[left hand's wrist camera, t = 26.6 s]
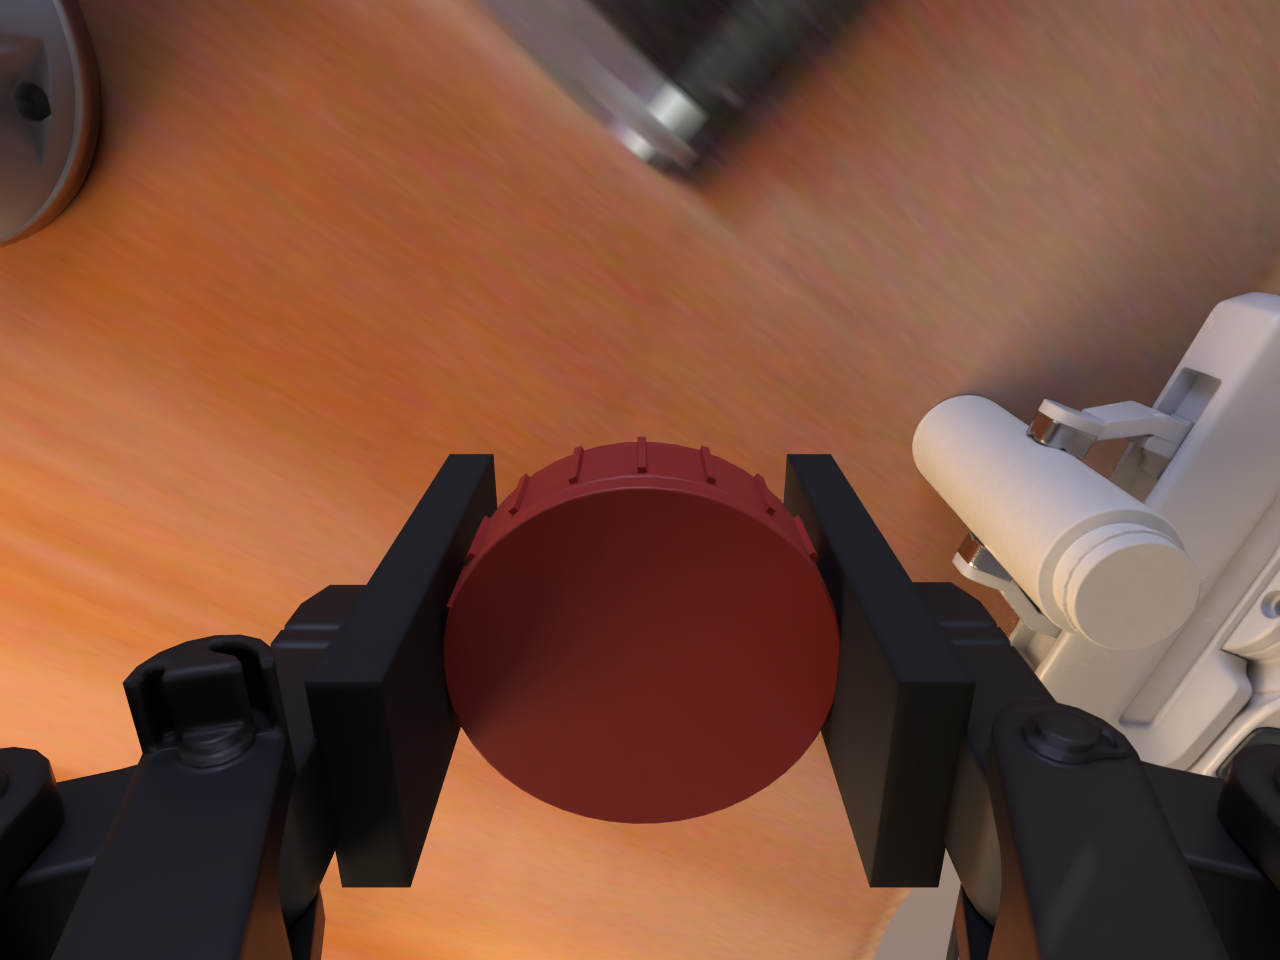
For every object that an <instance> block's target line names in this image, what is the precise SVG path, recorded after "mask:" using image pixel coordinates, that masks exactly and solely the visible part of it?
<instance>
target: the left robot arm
mask: <svg viewBox="0 0 1280 960" xmlns="http://www.w3.org/2000/svg"><path fill="white" fill-rule="evenodd" d="M99 121H100V89H99V78H98V71H97V65H96V60H95V54H94V50H93V47H92V43H91V39H90V35H89V32H88V29H87V26H86V24H85V21H84V18H83V15H82V12H81V10H80V8H79V6H78V3H77V1H76V0H0V247H3V246H6V245H10V244H13V243H16V242H18V241H20V240H23V239H25V238H27V237H29V236H31V235H33V234H34V233H36V232H38V231H40V230H41V229H43V228H44V227H45V226H46V225H48V224H49V223H50V222H52V221H53V220H54V219H55V218H56V217H57V216H58V215H59V214H60V213H61V212H62V211H63V210H64V209H65V208H66V207H67V205H68V204H69V203H70V202H71V200H72V199H73V198H74V196H75V195H76V193H77V191H78V190H79V188H80V186H81V185H82V183H83V181H84V179H85V176H86V174H87V172H88V170H89V167H90V164H91V161H92V158H93V155H94V152H95V147H96V142H97V137H98V131H99ZM783 505H784V506H785V507H786V509H787V510H788V511H789V513H790V514H791V515H792V516H793V518H794V517H796V516H797V515H799V517H800V518H801V520H802V522H803V524H804V526H805V529H806V531H807V533H808V535H809V538H810V540H811V542H812V544H813V547H814V549H815V551H816V553H817V556H818V558H817V559H815V560H814V561H815V563H816V566H817V567H818V570H819V572H820V574H821V577H822V579H823V581H824V583H825V586H826V588H827V590H828V593H829V595H830V597H831V600H832V602H833V604H834V609H835V612H836V616H837V620H838V625H839V629H840V651H839V661H838V670H837V679H836V688H835V696H834V702H833V705H832V707H831V710H830V712H829V715H828V717H827V719H826V721H825V723H824V725H823V727H822V728H821V733H822V736H823V739H824V742H825V745H826V749H827V752H828V755H829V758H830V761H831V765H832V768H833V771H834V774H835V777H836V780H837V784H838V787H839V790H840V793H841V796H842V800H843V803H844V806H845V809H846V812H847V816H848V819H849V822H850V825H851V828H852V831H853V835H854V838H855V841H856V844H857V847H858V851H859V854H860V857H861V860H862V863H863V866H864V870H865V873H866V876H867V879H868V882H869V886H870V887H938V886H939V881H940V875H941V870H942V865H943V859H944V854H945V848H946V849H947V851H948V854H949V856H950V858H951V860H952V863H953V865H954V867H955V869H956V872H957V874H958V876H959V879H960V881H961V886H960V891H959V896H958V901H957V906H956V911H955V916H954V921H953V926H952V931H951V936H950V941H949V946H948V951H947V957H946V960H958V958H959V960H1280V745H1276V744H1261V745H1253V746H1246V747H1244V748H1243V749H1242V750H1241V751H1239V752H1238V753H1237V754H1235V755H1234V756H1233V758H1232V761H1231V764H1230V767H1229V770H1228V773H1227V776H1226V779H1221V778H1216V777H1211V776H1206V775H1202V774H1197V773H1192V772H1187V771H1183V770H1178V769H1173V768H1168V767H1164V766H1159V765H1156V764H1152V763H1148V762H1145V761H1141V759H1140V757H1139V755H1138V753H1137V751H1136V750H1135V749H1134V747H1133V746H1132V744H1131V743H1130V742H1129V740H1128V739H1127V738H1126V736H1125V735H1124V734H1122V733H1121V732H1120V731H1118V730H1117V729H1116V728H1114V727H1113V726H1112V725H1110V724H1109V723H1108V722H1106V721H1105V720H1103V719H1101V718H1099V717H1097V716H1095V715H1093V714H1091V713H1088V712H1086V711H1084V710H1082V709H1080V708H1077V707H1073V706H1069V705H1065V704H1061V703H1057V702H1056V700H1055V699H1054V698H1053V696H1052V695H1051V694H1050V692H1049V691H1048V690H1047V689H1046V687H1045V686H1044V685H1043V683H1042V682H1041V681H1040V679H1039V678H1038V677H1037V675H1036V674H1035V673H1034V672H1033V670H1032V669H1031V668H1030V666H1029V665H1028V664H1027V662H1026V661H1025V660H1024V658H1023V657H1022V656H1021V654H1020V653H1019V652H1018V651H1017V649H1016V648H1015V647H1014V646H1011V645H1010V640H1009V639H1008V637H1007V636H1006V635H1005V634H1004V632H1003V631H1002V630H1001V628H1000V627H997V626H996V622H995V620H994V619H993V618H992V616H991V615H990V614H989V613H988V611H987V610H986V609H985V607H984V606H983V605H982V603H981V602H980V601H979V600H977V599H976V598H974V597H973V596H971V595H970V594H968V593H966V592H965V591H963V590H962V589H960V588H959V587H957V586H956V585H954V584H953V583H951V582H912V581H911V579H910V578H909V576H908V575H907V573H906V571H905V570H904V568H903V567H902V565H901V564H900V562H899V561H898V559H897V557H896V556H895V554H894V553H893V551H892V550H891V548H890V546H889V545H888V543H887V542H886V540H885V539H884V537H883V535H882V534H881V532H880V531H879V529H878V528H877V526H876V525H875V523H874V521H873V520H872V518H871V517H870V515H869V514H868V512H867V510H866V509H865V507H864V506H863V504H862V503H861V501H860V499H859V498H858V496H857V495H856V493H855V492H854V490H853V488H852V487H851V485H850V484H849V482H848V481H847V479H846V478H845V476H844V474H843V473H842V471H841V470H840V468H839V467H838V465H837V463H836V462H835V460H834V459H833V457H832V456H831V454H787V463H786V477H785V490H784V504H783ZM496 510H497V498H496V484H495V470H494V456H493V454H450V455H449V456H448V458H447V460H446V461H445V463H444V464H443V466H442V467H441V469H440V470H439V472H438V474H437V475H436V477H435V478H434V480H433V481H432V483H431V485H430V486H429V488H428V489H427V491H426V492H425V494H424V496H423V497H422V499H421V500H420V502H419V503H418V505H417V507H416V508H415V510H414V511H413V513H412V514H411V516H410V517H409V519H408V521H407V522H406V524H405V525H404V527H403V528H402V530H401V532H400V533H399V535H398V536H397V538H396V539H395V541H394V543H393V544H392V546H391V547H390V549H389V550H388V552H387V554H386V555H385V557H384V558H383V560H382V561H381V563H380V564H379V566H378V568H377V569H376V571H375V572H374V574H373V575H372V577H371V579H370V580H369V582H368V583H367V585H329V586H328V587H326V588H325V589H323V590H322V591H320V592H319V593H317V594H315V595H314V596H312V597H311V598H309V599H308V600H306V601H305V602H303V603H302V604H301V605H300V606H299V607H298V609H297V610H296V611H295V613H294V614H293V615H292V617H291V618H290V619H289V621H288V622H287V623H286V625H285V629H284V630H281V631H280V632H279V634H278V635H277V636H276V638H275V639H274V640H273V642H272V643H271V647H270V646H269V645H267V644H266V643H265V642H263V641H262V640H261V639H258V638H253V637H249V636H244V635H215V636H210V637H205V638H201V639H196V640H192V641H187V642H184V643H182V644H179V645H177V646H174V647H172V648H169V649H167V650H164V651H162V652H159V653H158V654H156V655H154V656H153V657H151V658H150V659H148V660H147V661H145V662H143V663H142V664H140V665H139V666H137V667H136V668H135V669H134V671H133V672H132V673H131V674H130V675H129V676H128V677H127V678H126V680H125V681H124V682H123V686H124V689H125V693H126V696H127V700H128V703H129V707H130V710H131V714H132V717H133V721H134V724H135V728H136V731H137V735H138V738H139V742H140V745H141V749H142V752H143V754H142V756H141V759H140V761H139V763H138V765H134V766H131V767H127V768H123V769H119V770H115V771H110V772H105V773H100V774H96V775H91V776H86V777H81V778H77V779H72V780H67V781H62V782H58V783H56V780H55V777H54V774H53V771H52V768H51V765H50V762H49V760H48V759H47V758H46V757H44V756H43V755H42V754H41V753H39V752H38V751H37V750H32V749H25V748H18V747H10V748H2V749H0V960H321V954H322V945H323V936H324V927H325V914H324V907H323V901H322V896H321V891H320V884H321V882H322V880H323V877H324V875H325V873H326V870H327V868H328V866H329V864H330V861H331V859H332V857H333V854H334V852H335V851H336V856H337V862H338V867H339V873H340V878H341V883H342V887H411V884H412V881H413V878H414V874H415V871H416V868H417V865H418V862H419V858H420V855H421V852H422V849H423V846H424V843H425V839H426V836H427V833H428V830H429V827H430V823H431V820H432V817H433V814H434V811H435V808H436V804H437V801H438V798H439V795H440V792H441V788H442V785H443V782H444V779H445V776H446V772H447V769H448V766H449V763H450V760H451V757H452V753H453V750H454V747H455V744H456V741H457V737H458V734H459V731H460V728H461V725H460V723H459V721H458V718H457V716H456V714H455V712H454V710H453V707H452V705H451V701H450V698H449V695H448V691H447V688H446V684H445V677H444V668H443V637H444V632H445V626H446V621H447V616H448V613H447V610H446V606H447V604H448V601H449V599H450V597H451V594H452V592H453V590H454V588H455V585H456V583H457V581H458V578H459V576H460V574H461V571H462V569H463V567H464V566H467V565H468V563H469V561H470V560H468V559H466V556H467V554H468V552H469V549H470V547H471V545H472V542H473V540H474V538H475V535H476V533H477V531H478V528H479V526H480V524H481V522H482V520H483V518H484V517H485V516H487V517H489V518H491V517H492V515H493V514H494V513H495V511H496Z"/></svg>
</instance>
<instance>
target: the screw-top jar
mask: <svg viewBox="0 0 1280 960" xmlns="http://www.w3.org/2000/svg"><path fill="white" fill-rule="evenodd" d="M1028 427H1029V426H1028V425H1027V424H1025V423H1024V422H1022V421H1021V420H1019V419H1018V418H1016V417H1015V416H1013V415H1012V414H1011V413H1009V412H1008V411H1006V410H1005V409H1003V408H1002V407H1000V406H999V405H997V404H996V403H994V402H993V401H991V400H989V399H986V398H984V397H980V396H973V395H964V396H958V397H954V398H950V399H948V400H946V401H943V402H941V403H940V404H938V405H937V406H935V407H934V408H932V409H931V410H930V411H929V412H928V413H927V414H926V415H925V416H924V418H923V419H922V420H921V422H920V423H919V425H918V427H917V429H916V432H915V435H914V439H913V446H912V450H913V457H914V461H915V464H916V466H917V468H918V470H919V471H920V472H921V474H922V475H923V476H924V477H925V478H926V479H927V481H928V482H929V483H930V484H931V485H932V486H933V487H934V489H935V490H936V491H937V492H938V493H939V494H940V495H941V497H942V498H943V499H944V500H945V501H946V502H947V503H948V505H949V506H950V507H951V508H952V509H953V510H954V511H955V513H956V514H957V515H958V516H959V517H960V518H961V519H962V521H963V522H964V523H965V524H966V525H967V526H968V527H969V528H970V530H971V531H972V532H973V533H974V534H975V535H976V536H977V538H978V539H979V540H980V541H981V542H982V543H983V544H984V546H985V547H986V548H987V549H988V550H989V551H990V552H991V554H992V555H993V556H994V557H995V558H996V559H997V560H998V562H999V563H1000V564H1001V565H1002V566H1003V567H1004V568H1005V570H1006V571H1007V572H1008V573H1009V574H1010V575H1011V576H1012V578H1013V579H1014V580H1015V581H1016V582H1017V583H1018V584H1019V586H1020V587H1021V588H1022V589H1023V590H1024V591H1025V592H1026V594H1027V595H1028V596H1029V597H1030V598H1031V599H1032V600H1033V602H1034V603H1035V604H1036V605H1037V606H1038V607H1039V608H1040V610H1041V611H1042V612H1043V613H1044V614H1045V615H1046V616H1047V618H1048V619H1049V620H1050V621H1052V622H1053V623H1054V624H1055V625H1056V626H1058V627H1059V628H1061V629H1063V630H1065V631H1067V632H1069V633H1072V634H1075V635H1078V636H1081V637H1083V638H1084V639H1085V640H1086V641H1088V642H1091V643H1094V644H1096V645H1099V646H1101V647H1106V648H1109V649H1114V650H1134V649H1140V648H1144V647H1148V646H1151V645H1153V644H1156V643H1158V642H1160V641H1162V640H1164V639H1166V638H1167V637H1169V636H1170V635H1172V634H1173V633H1174V632H1176V631H1177V630H1178V629H1179V628H1180V627H1181V626H1182V625H1183V624H1184V623H1185V622H1186V621H1187V619H1188V618H1189V617H1190V615H1191V614H1192V612H1194V611H1195V608H1196V606H1197V603H1198V600H1199V598H1201V594H1202V583H1203V582H1202V581H1201V580H1200V578H1199V574H1198V570H1197V568H1196V566H1195V564H1194V562H1193V561H1192V560H1191V558H1190V557H1189V556H1188V555H1187V554H1186V550H1185V546H1184V543H1183V540H1182V538H1181V536H1180V534H1179V533H1178V531H1177V530H1176V529H1175V527H1174V526H1173V525H1172V524H1171V523H1170V522H1168V521H1167V520H1166V519H1164V518H1163V517H1162V516H1160V515H1159V514H1157V513H1156V512H1154V511H1153V510H1151V509H1150V508H1148V507H1147V506H1146V505H1144V504H1143V503H1141V502H1140V501H1138V500H1137V499H1135V498H1134V497H1132V496H1131V495H1129V494H1128V493H1126V492H1125V491H1124V490H1122V489H1121V488H1119V487H1118V486H1116V485H1115V484H1113V483H1112V482H1110V481H1109V480H1107V479H1106V478H1104V477H1103V476H1101V475H1100V474H1099V473H1097V472H1096V471H1094V470H1093V469H1091V468H1090V467H1088V466H1087V465H1085V464H1084V463H1082V462H1081V461H1079V460H1078V459H1077V458H1075V457H1074V456H1072V455H1070V454H1069V453H1067V452H1065V451H1064V450H1062V449H1055V448H1052V447H1049V446H1047V445H1045V444H1043V443H1041V442H1039V441H1037V440H1036V439H1034V437H1033V436H1031V435H1029V434H1027V433H1026V431H1027V429H1028Z"/></svg>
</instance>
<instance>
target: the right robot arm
mask: <svg viewBox="0 0 1280 960" xmlns="http://www.w3.org/2000/svg"><path fill="white" fill-rule="evenodd" d="M1026 433H1027V434H1029V435H1031V436H1033V437H1034V439H1036V440H1037V441H1039V442H1041V443H1043V444H1045V445H1047V446H1049V447H1052V448H1055V449H1062V450H1064V451H1065V452H1067V453H1069V454H1070V455H1073V456H1075V457H1078V458H1081V459H1084V457H1085V456H1086V454H1087V452H1088V451H1089V449H1090V448H1091V446H1092V445H1093V443H1094V442H1095V441H1102V440H1110V439H1118V438H1126V439H1127V440H1129V441H1131V442H1130V443H1129V445H1128V447H1127V448H1126V450H1125V451H1124V453H1123V455H1122V456H1121V458H1120V459H1119V461H1118V463H1117V464H1116V466H1115V468H1114V469H1113V471H1112V472H1111V474H1110V476H1109V477H1108V479H1107V480H1109V481H1110V482H1112V483H1113V484H1115V485H1116V486H1118V487H1119V488H1121V489H1122V490H1124V491H1125V492H1126V493H1128V494H1129V495H1131V496H1132V497H1134V498H1135V499H1137V500H1138V501H1140V502H1141V503H1143V504H1144V505H1146V506H1147V507H1148V508H1150V509H1151V510H1153V511H1154V512H1156V513H1157V514H1159V515H1160V516H1162V517H1163V518H1164V519H1166V520H1167V521H1168V522H1170V523H1171V524H1172V525H1173V526H1174V527H1175V529H1176V530H1177V531H1178V533H1179V534H1180V536H1181V538H1182V540H1183V543H1184V546H1185V550H1186V554H1187V555H1188V556H1189V557H1190V558H1191V560H1192V561H1193V562H1194V564H1195V566H1196V568H1197V570H1198V574H1199V578H1200V580H1201V581H1202V582H1203V583H1202V594H1201V598H1199V600H1198V603H1197V606H1196V608H1195V611H1194V612H1192V614H1191V615H1190V617H1189V618H1188V619H1187V621H1186V622H1185V623H1184V624H1183V625H1182V626H1181V627H1180V628H1179V629H1178V630H1177V631H1176V632H1174V633H1173V634H1172V635H1170V636H1169V637H1167V638H1166V639H1164V640H1162V641H1160V642H1158V643H1156V644H1153V645H1151V646H1148V647H1144V648H1140V649H1134V650H1114V649H1109V648H1106V647H1101V646H1099V645H1096V644H1094V643H1091V642H1088V641H1086V640H1085V639H1084V638H1083V637H1081V636H1078V635H1075V634H1072V633H1069V632H1067V631H1065V630H1063V629H1061V628H1059V627H1058V626H1056V625H1055V624H1054V623H1053V622H1052V621H1050V620H1049V619H1048V618H1047V616H1046V615H1045V614H1044V613H1043V612H1042V611H1041V610H1040V608H1039V607H1038V606H1037V605H1036V604H1035V603H1034V602H1033V600H1032V599H1031V598H1030V597H1029V596H1028V595H1027V594H1026V592H1025V591H1024V590H1023V589H1022V588H1021V587H1020V588H1019V587H1018V585H1017V584H1016V583H1015V581H1014V580H1013V579H1012V576H1011V575H1010V574H1009V573H1008V572H1007V571H1006V570H1005V568H1004V567H1003V566H1002V565H1001V564H1000V563H999V562H998V560H997V559H996V558H995V557H994V556H993V555H992V554H991V552H990V551H989V550H988V549H987V548H986V547H985V546H984V544H983V543H982V542H981V541H980V540H979V539H978V538H977V536H976V535H975V534H974V533H973V532H972V531H969V533H968V534H967V536H966V538H965V539H964V541H963V543H962V544H961V546H960V548H959V549H958V552H957V553H956V555H955V556H954V558H953V560H952V562H953V564H954V565H955V566H956V567H957V569H958V570H959V571H960V573H961V574H963V575H964V576H966V577H967V578H969V579H971V580H972V581H975V582H978V583H981V584H983V585H986V586H989V587H992V588H995V589H998V591H999V592H1000V593H1001V595H1002V596H1003V597H1004V599H1005V600H1006V601H1007V602H1008V604H1009V605H1010V606H1011V607H1012V609H1013V610H1014V611H1015V612H1016V614H1017V615H1018V616H1019V617H1020V618H1021V619H1020V620H1019V622H1018V624H1017V625H1016V627H1015V628H1014V630H1013V632H1012V633H1011V635H1010V636H1009V638H1008V639H1009V640H1010V645H1011V646H1014V647H1015V648H1016V649H1017V651H1018V652H1019V653H1020V654H1021V656H1022V657H1023V658H1024V660H1025V661H1026V662H1027V664H1028V665H1029V666H1030V668H1031V669H1032V670H1033V672H1034V673H1035V674H1036V675H1037V677H1038V678H1039V679H1040V681H1041V682H1042V683H1043V685H1044V686H1045V687H1046V689H1047V690H1048V691H1049V692H1050V694H1051V695H1052V696H1053V698H1054V699H1055V700H1056V702H1057V703H1061V704H1065V705H1069V706H1073V707H1077V708H1080V709H1082V710H1084V711H1086V712H1088V713H1091V714H1093V715H1095V716H1097V717H1099V718H1101V719H1103V720H1105V721H1106V722H1108V723H1109V724H1110V725H1112V726H1113V727H1114V728H1116V729H1117V730H1118V731H1120V732H1121V733H1122V734H1124V735H1125V736H1126V738H1127V739H1128V740H1129V742H1130V743H1131V744H1132V746H1133V747H1134V749H1135V750H1136V751H1137V753H1138V755H1139V757H1140V759H1141V761H1145V762H1148V763H1152V764H1156V765H1159V766H1164V767H1168V768H1173V769H1178V770H1183V771H1187V772H1192V773H1197V774H1202V775H1206V776H1211V777H1216V778H1221V779H1226V776H1227V773H1228V770H1229V767H1230V764H1231V761H1232V758H1233V756H1234V755H1235V754H1237V753H1238V752H1239V751H1241V750H1242V749H1243V748H1244V747H1246V746H1253V745H1261V744H1276V745H1280V295H1275V294H1269V293H1263V292H1250V293H1246V294H1243V295H1239V296H1236V297H1233V298H1229V299H1227V300H1224V301H1221V302H1220V303H1218V304H1217V305H1216V306H1215V307H1214V309H1213V310H1212V312H1211V313H1210V314H1209V316H1208V318H1207V319H1206V321H1205V323H1204V324H1203V326H1202V327H1201V329H1200V331H1199V332H1198V334H1197V335H1196V337H1195V339H1194V340H1193V342H1192V344H1191V345H1190V347H1189V348H1188V350H1187V352H1186V353H1185V355H1184V356H1183V358H1182V360H1181V361H1180V363H1179V364H1178V366H1177V368H1176V369H1175V371H1174V372H1173V374H1172V376H1171V377H1170V379H1169V381H1168V382H1167V384H1166V385H1165V387H1164V389H1163V390H1162V392H1161V393H1160V395H1159V397H1158V398H1157V400H1156V401H1155V403H1154V405H1153V406H1152V408H1150V407H1148V406H1145V405H1143V404H1140V403H1137V402H1135V401H1132V400H1131V401H1125V402H1120V403H1114V404H1109V405H1103V406H1097V407H1092V408H1086V409H1083V410H1082V411H1081V412H1080V411H1077V410H1075V409H1072V408H1069V407H1067V406H1064V405H1062V404H1059V403H1056V402H1054V401H1051V400H1048V399H1044V401H1043V402H1042V404H1041V406H1040V408H1039V409H1038V411H1037V413H1036V415H1035V417H1034V418H1033V420H1032V422H1031V424H1030V425H1029V427H1028V429H1027V431H1026Z"/></svg>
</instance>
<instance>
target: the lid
mask: <svg viewBox="0 0 1280 960" xmlns="http://www.w3.org/2000/svg"><path fill="white" fill-rule="evenodd" d="M817 558H818V556H817V553H816V551H815V549H814V547H813V544H812V542H811V540H810V538H809V535H808V533H807V531H806V529H805V526H804V524H803V522H802V520H801V518H800V517H799V515H797V516H796V517H794V518H793V516H792V515H791V514H790V513H789V511H788V510H787V509H786V507H785V506H784V505H783V504H782V502H781V501H780V500H779V499H778V498H777V497H776V496H775V495H774V494H773V493H772V492H771V491H770V490H769V489H768V488H767V486H766V484H765V481H764V478H763V477H762V476H761V475H759V474H758V473H757V474H756V475H755V477H753V476H751V475H750V474H748V473H747V472H746V471H744V470H743V469H741V468H739V467H737V466H735V465H733V464H731V463H729V462H728V461H726V460H724V459H722V458H719V457H716V456H714V455H711V454H710V451H709V448H708V447H704V446H701V449H700V450H697V449H692V448H688V447H684V446H680V445H675V444H665V443H656V442H646V437H638V442H625V443H618V444H611V445H604V446H599V447H596V448H592V449H588V450H585V451H584V450H583V447H582V446H580V447H577V448H575V449H574V454H573V455H570V456H568V457H566V458H563V459H561V460H558V461H556V462H554V463H552V464H551V465H549V466H547V467H545V468H544V469H542V470H540V471H539V472H537V473H535V474H534V475H532V476H531V477H529V476H528V475H527V474H525V475H523V476H522V477H521V478H520V480H519V483H518V486H517V488H516V489H515V490H514V491H513V492H512V493H511V494H510V495H509V496H508V497H507V498H506V499H505V500H504V501H503V502H502V503H501V504H500V506H499V507H498V509H497V510H496V511H495V513H494V514H493V515H492V517H491V518H489V517H487V516H485V517H484V518H483V520H482V522H481V524H480V526H479V528H478V531H477V533H476V535H475V538H474V540H473V542H472V545H471V547H470V549H469V552H468V554H467V556H466V559H468V560H470V561H469V563H468V565H467V566H464V567H463V569H462V571H461V574H460V576H459V578H458V581H457V583H456V585H455V588H454V590H453V592H452V594H451V597H450V599H449V601H448V604H447V606H446V610H447V613H448V616H447V621H446V626H445V632H444V637H443V668H444V677H445V684H446V688H447V691H448V695H449V698H450V701H451V705H452V707H453V710H454V712H455V714H456V716H457V718H458V721H459V723H460V725H461V727H462V728H463V730H464V732H465V733H466V735H467V736H468V738H469V739H470V741H471V742H472V744H473V745H474V747H475V748H476V749H477V750H478V751H479V752H480V754H481V755H482V756H483V757H484V758H485V760H486V761H487V762H488V763H489V764H490V765H491V766H493V767H494V768H495V769H496V770H497V771H498V772H499V773H500V774H501V775H502V776H503V777H505V778H506V779H508V780H509V781H510V782H512V783H513V784H514V785H516V786H517V787H519V788H520V789H521V790H523V791H525V792H527V793H528V794H530V795H532V796H534V797H536V798H537V799H539V800H541V801H543V802H545V803H548V804H550V805H552V806H555V807H557V808H559V809H562V810H564V811H568V812H571V813H574V814H578V815H581V816H584V817H588V818H594V819H599V820H604V821H609V822H620V823H632V824H643V823H664V822H673V821H681V820H686V819H690V818H695V817H699V816H704V815H707V814H710V813H713V812H716V811H719V810H722V809H725V808H727V807H730V806H732V805H734V804H736V803H738V802H741V801H743V800H745V799H747V798H749V797H751V796H752V795H754V794H756V793H757V792H759V791H761V790H762V789H764V788H766V787H767V786H769V785H770V784H771V783H772V782H774V781H775V780H776V779H778V778H779V777H780V776H782V775H783V774H784V773H785V772H786V771H787V770H788V769H789V768H790V767H791V766H792V765H794V764H795V763H796V762H797V761H798V760H799V759H800V758H801V757H802V755H803V754H804V753H805V751H806V750H807V749H808V748H809V746H810V745H811V744H812V743H813V741H814V740H815V738H816V737H817V735H818V733H819V732H820V730H821V728H822V727H823V725H824V723H825V721H826V719H827V717H828V715H829V712H830V710H831V707H832V705H833V702H834V696H835V688H836V679H837V670H838V661H839V651H840V629H839V625H838V620H837V616H836V612H835V609H834V604H833V602H832V600H831V597H830V595H829V593H828V590H827V588H826V586H825V583H824V581H823V579H822V577H821V574H820V572H819V570H818V567H817V566H816V563H815V561H814V560H815V559H817Z"/></svg>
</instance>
